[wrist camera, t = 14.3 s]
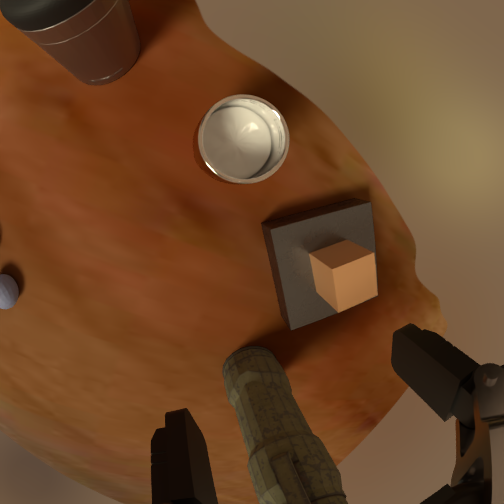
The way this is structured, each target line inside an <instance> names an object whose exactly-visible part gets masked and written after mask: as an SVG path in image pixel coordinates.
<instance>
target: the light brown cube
mask: <svg viewBox="0 0 504 504" xmlns="http://www.w3.org/2000/svg"><path fill="white" fill-rule="evenodd" d="M309 256H310V261H311V266H312V271H313V276H314V282H315V287H316V292H317V293H318V294H319V295H320V296H321V297H322V298H323V299H324V300H325V301H326V302H328V303H329V304H330V305H331V306H332V307H333V308H334V309H335V310H336V311H337V312H338V313H339V312H342V311H344V310H346V309H348V308H351V307H353V306H355V305H357V304H359V303H362V302H364V301H366V300H368V299H370V298H372V297H374V296H377V295H378V293H377V278H376V266H375V256H374V252H372V251H370V250H368V249H366V248H364V247H362V246H359V245H357V244H355V243H353V242H351V241H349V240H345V241H342V242H339V243H336V244H333V245H331V246H328V247H325V248H322V249H320V250H317V251H314V252H311V253H309Z"/></svg>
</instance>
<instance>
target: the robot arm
mask: <svg viewBox="0 0 504 504" xmlns="http://www.w3.org/2000/svg"><path fill="white" fill-rule="evenodd" d="M0 9H1V12H2V14H3V16H4V17H5V18H6V19H7V20H8V21H9V22H10V23H11V24H13V25H14V26H15V27H16V28H18V29H19V30H20V31H21V32H22V33H24V34H25V35H26V36H27V37H29V38H30V39H31V40H32V41H34V42H35V43H36V44H37V45H38V46H40V47H41V48H42V49H43V50H45V51H46V52H47V53H48V54H49V55H51V56H52V57H53V58H54V59H55V60H57V61H58V62H59V63H60V64H61V65H62V66H64V67H65V68H66V69H67V70H68V71H69V72H71V73H72V74H73V75H74V76H75V77H77V78H78V79H79V80H80V81H82V82H83V83H86V84H89V85H103V84H107V83H110V82H112V81H115V80H117V79H118V78H120V77H121V76H123V75H124V74H125V73H126V72H127V71H129V70H130V68H131V67H132V66H133V65H134V63H135V61H136V60H137V58H138V55H139V52H140V39H139V35H138V32H137V29H136V25H135V21H134V18H133V15H132V11H131V8H130V4H129V1H128V0H0ZM391 363H392V367H393V369H394V371H395V372H396V373H397V375H398V376H400V377H401V378H402V379H403V380H404V381H405V382H406V383H407V384H408V385H409V386H410V387H411V388H412V389H413V390H414V391H415V392H416V393H417V394H418V395H419V396H420V397H421V398H422V399H423V400H424V401H425V402H426V403H427V404H428V405H429V406H430V407H431V408H432V409H433V410H434V411H435V412H436V413H437V414H438V415H439V416H440V417H441V418H442V419H443V421H444V422H445V421H447V420H448V419H449V418H451V416H453V415H454V416H455V417H456V418H457V419H456V465H455V468H454V471H453V475H452V479H451V487H450V486H449V485H448V484H446V485H445V486H444V487H442V488H441V489H440V490H438V491H437V492H435V493H434V494H433V495H431V496H430V497H428V498H427V499H425V500H424V501H423V502H421V503H420V504H504V365H502V366H499V365H497V364H494V363H487V364H483V365H479V364H478V363H476V362H475V361H474V360H473V359H471V358H470V357H468V356H467V355H466V354H465V353H463V352H462V351H460V350H459V349H458V348H456V347H455V346H454V347H453V345H452V344H451V343H450V342H448V341H446V340H445V339H444V338H443V337H441V336H440V335H438V334H437V333H435V332H432V331H429V330H426V329H424V330H423V331H422V330H421V329H420V328H418V327H417V326H415V325H414V324H411V323H410V324H408V325H406V326H404V327H402V328H400V329H398V330H397V331H395V332H394V333H393V342H392V356H391ZM151 455H152V456H151V464H152V466H151V485H152V504H218V501H217V497H216V492H215V487H214V482H213V477H212V472H211V467H210V462H209V457H208V451H207V446H206V442H205V439H204V436H203V434H202V432H201V430H200V429H199V427H198V426H197V424H196V422H195V421H194V419H193V417H192V416H191V414H190V412H189V411H188V409H187V408H184V409H180V410H175V411H171V412H166V414H165V427H164V428H159V429H156V431H155V433H154V435H153V437H152V440H151Z"/></svg>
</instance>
